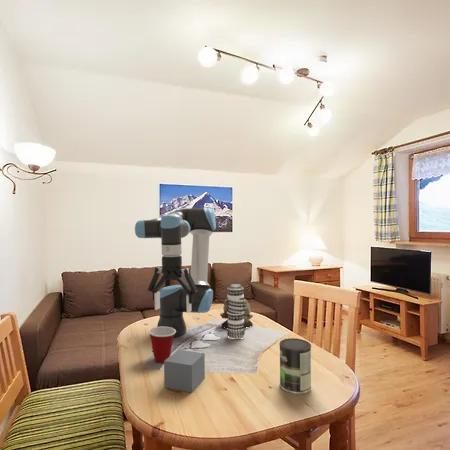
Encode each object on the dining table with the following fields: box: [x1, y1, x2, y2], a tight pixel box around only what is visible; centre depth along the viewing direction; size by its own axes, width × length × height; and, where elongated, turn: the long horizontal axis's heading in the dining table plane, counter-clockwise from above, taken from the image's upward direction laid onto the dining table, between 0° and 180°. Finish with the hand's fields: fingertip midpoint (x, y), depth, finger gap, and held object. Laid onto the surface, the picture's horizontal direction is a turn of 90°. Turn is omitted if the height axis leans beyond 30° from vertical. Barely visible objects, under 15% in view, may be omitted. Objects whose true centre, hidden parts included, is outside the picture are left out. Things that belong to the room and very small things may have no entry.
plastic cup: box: [148, 326, 176, 364], centre depth 126 cm, size 11×11×12 cm
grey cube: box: [163, 349, 206, 394], centre depth 107 cm, size 10×10×9 cm
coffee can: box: [278, 337, 312, 395], centre depth 104 cm, size 10×10×14 cm
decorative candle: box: [225, 283, 246, 340], centre depth 151 cm, size 9×9×25 cm
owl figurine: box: [219, 298, 254, 329], centre depth 168 cm, size 18×12×17 cm, turn 108°
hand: (173, 310), depth 121 cm, fingers open, 13 cm apart
